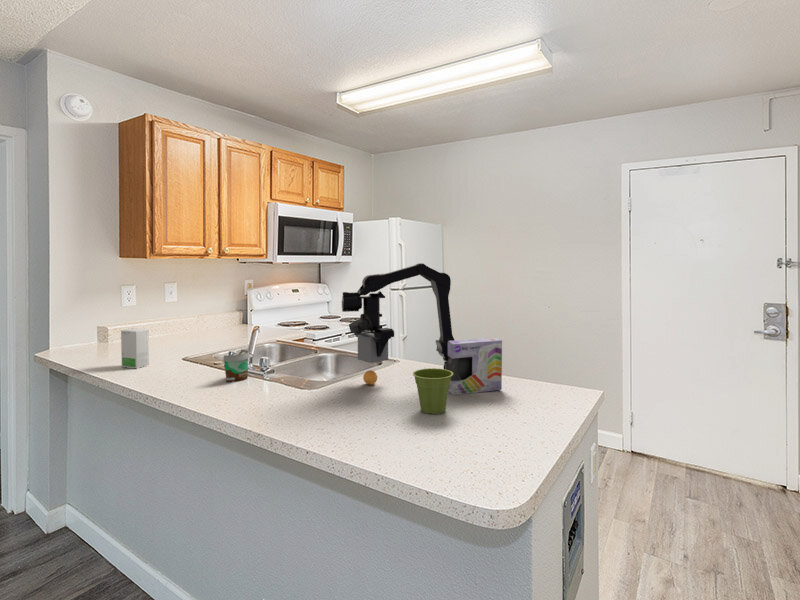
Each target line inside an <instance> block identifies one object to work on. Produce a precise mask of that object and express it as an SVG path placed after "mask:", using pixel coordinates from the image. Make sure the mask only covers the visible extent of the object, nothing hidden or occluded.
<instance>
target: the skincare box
mask: <svg viewBox="0 0 800 600" xmlns="http://www.w3.org/2000/svg"><path fill="white" fill-rule="evenodd" d="M120 336H121V337H120V340H121V341H120V345H121V351H120V352H121V368H125V367H127V368H126V369H133V368H138V369H141V368H140V367H142V368H144V367H143V366H146V367H148V366H147V365H150V360H149V359H150V353H149V352H150V350H149V349H150V347H149V345H150V344H149V338H150V337H149V329H145V328H134V327H132V328H128V329H127V328H126V329H122V330H120Z"/></svg>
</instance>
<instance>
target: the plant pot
mask: <svg viewBox="0 0 800 600" xmlns="http://www.w3.org/2000/svg"><path fill="white" fill-rule="evenodd" d="M412 376H414V380H415V384H416V388H417V394H418V400H419V405H420V411H421V412H423V413H425V414H432V415H438V414H443V413H445V411H446V409H447V403H448V398H449V397H448V396H449V392H448V391H449V384H450V382H451V376H453V372H451V371H449V370H445V369H444V368H437V367H435V368H433V367H432V368H422V369H421V368H420V369H417V370H415V371H413V372H412Z"/></svg>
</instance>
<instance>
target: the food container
mask: <svg viewBox="0 0 800 600" xmlns="http://www.w3.org/2000/svg"><path fill="white" fill-rule="evenodd" d="M250 358H251V354H250V351H249V350H247V349H240V351H239V352H237V353H235V352H234V353H232V354H230V355H223V357H222V359H223V360H222V361H223V363H224V371H225V380H226V383H238V382H244V381H245V380H248V377H249V375H248V372H249V359H250Z"/></svg>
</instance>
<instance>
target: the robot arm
mask: <svg viewBox="0 0 800 600" xmlns="http://www.w3.org/2000/svg"><path fill="white" fill-rule="evenodd" d="M417 276H421V277H422V278H424V279H425V280H426V281H428V282H430V286H431V288H432V292H433V294H434V295H435V299H436V308H437V318H438V327H439V334H440V335H439V338H438V340H437V339H436V340H435V345H436V352H438V355H439V356H440V357H442V360H443V361H444V362H443V363H444V364H443V369H445V370H447V365H448V341H454V340H455V338H454V335H453V328H452V318H451V311H450V301H449V300H450V299H449V295H450V292H451V286H452V284H451V283H452V281H451V280H452V279H451V276H450V275H449V274H448V273H445V272H439V271H438V270H436V269H435V268H431V267H430V266H427V265H426V264H425V263H423V262H422V263H420V262H419V263H416V264H413V265H411V266H407V267H404V268H401V269H398V270H394V271H391V272H386V273H378V274H377V273H376V274H369V275H365V276H364V278H363V279H362V282H361V283H362V285H361V286H360V288H359V289H358V290H357V291H356V292H348V291H343V292H342V299H341V312H343V313H344V312H345V313H346V312H347V313H349V312H350V313H351V312H352V313H353V312H359V311H360V310H361V309H363V310H362V311H363V313H361V314H360V315H359V316H360V317H359V319H355V321H352V322H351V323H349V324H348V327H349V330H350V333H351V335H352V334H353V336H355V337H356V338H358V335H361V334H369V333H372V334H374V336H375V338H373V339H374V341H375V342H376V350H377V357H380V356H381V354H382V352H383V350H384V348H385V346H386V344H387V342H388V343H389V340H391V339H392V338H395V331H394V329H393V328H390V327H383V325H381V323H380V322H381V321H380V320H381V319H380V318H381V317H383V313H381V309H380V308H381V306H380V305H381V304H380V303H381V302H380V299H386V296H385V295H384V294H383V293H382V292H383V291H381V290H382V289H383V288H386V287H387V286H389V285H391V284H393V283H396V282H397V283H398V282H400V281H403V280H407V279H411V278H415V277H417ZM377 291H378V292H377Z"/></svg>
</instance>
